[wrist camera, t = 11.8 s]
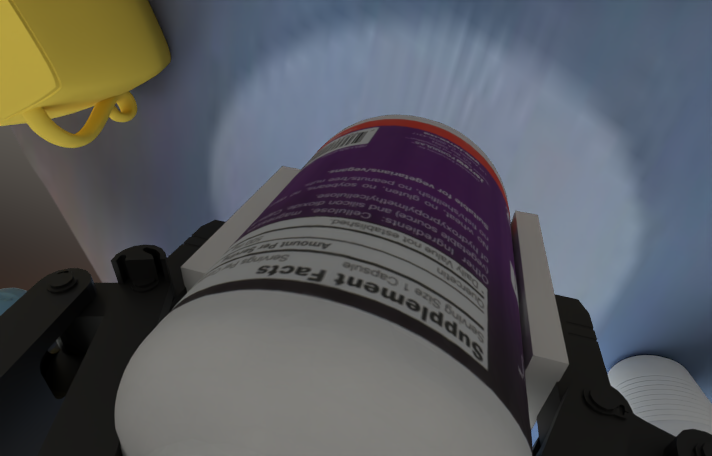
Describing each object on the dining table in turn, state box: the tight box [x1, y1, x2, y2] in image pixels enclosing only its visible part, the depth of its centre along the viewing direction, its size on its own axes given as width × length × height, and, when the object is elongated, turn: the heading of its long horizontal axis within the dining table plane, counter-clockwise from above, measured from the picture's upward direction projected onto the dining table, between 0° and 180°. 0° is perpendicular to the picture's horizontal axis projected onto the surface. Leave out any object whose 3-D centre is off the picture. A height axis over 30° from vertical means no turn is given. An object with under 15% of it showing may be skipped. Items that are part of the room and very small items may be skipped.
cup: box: [608, 355, 712, 436], centre depth 32 cm, size 10×10×11 cm
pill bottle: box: [115, 115, 533, 456], centre depth 11 cm, size 8×8×14 cm
